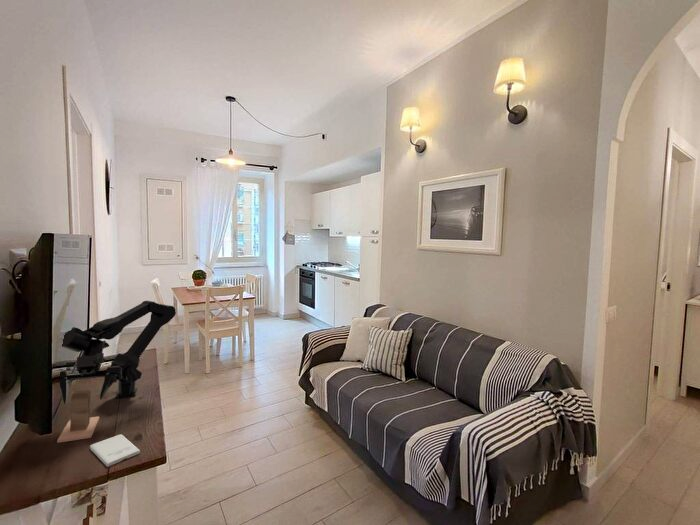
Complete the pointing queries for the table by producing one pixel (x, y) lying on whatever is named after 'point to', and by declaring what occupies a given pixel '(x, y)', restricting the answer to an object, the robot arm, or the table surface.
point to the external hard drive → (114, 450)
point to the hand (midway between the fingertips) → (83, 401)
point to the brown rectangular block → (80, 410)
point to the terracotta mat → (77, 435)
